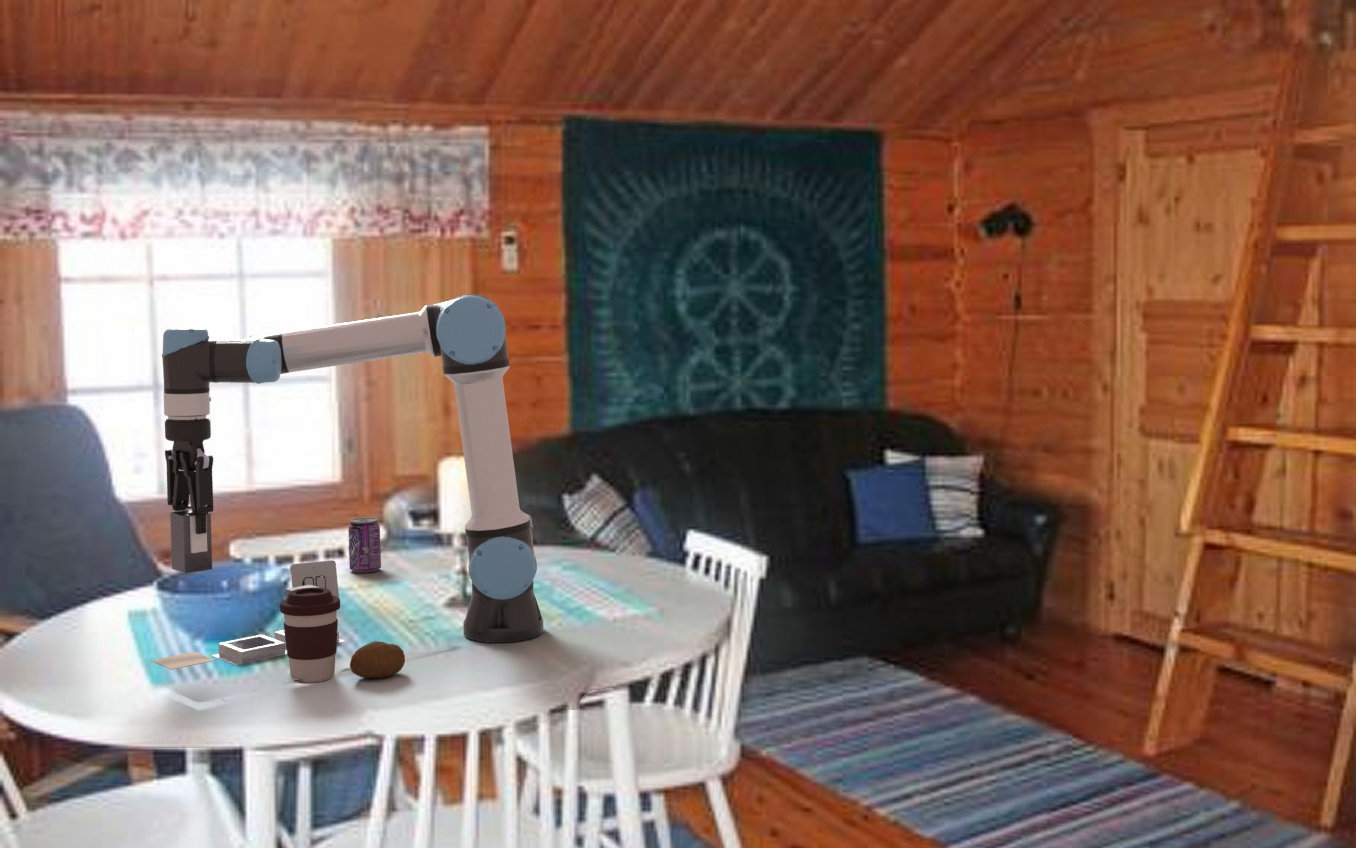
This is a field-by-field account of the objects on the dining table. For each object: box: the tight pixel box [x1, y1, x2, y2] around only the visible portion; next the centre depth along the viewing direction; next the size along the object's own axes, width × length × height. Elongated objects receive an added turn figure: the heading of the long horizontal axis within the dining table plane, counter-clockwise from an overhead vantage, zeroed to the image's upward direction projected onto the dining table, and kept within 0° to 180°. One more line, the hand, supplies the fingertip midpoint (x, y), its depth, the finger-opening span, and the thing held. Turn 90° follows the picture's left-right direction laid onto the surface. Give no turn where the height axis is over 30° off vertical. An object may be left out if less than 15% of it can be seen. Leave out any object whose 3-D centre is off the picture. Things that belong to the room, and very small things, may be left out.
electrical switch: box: [289, 559, 340, 598], centre depth 295 cm, size 9×5×9 cm, turn 116°
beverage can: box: [347, 516, 382, 574], centre depth 328 cm, size 7×7×12 cm
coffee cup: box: [279, 587, 341, 684], centre depth 242 cm, size 10×10×15 cm
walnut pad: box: [151, 651, 216, 670], centre depth 250 cm, size 8×8×1 cm
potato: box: [349, 640, 406, 679], centre depth 242 cm, size 7×10×6 cm
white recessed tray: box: [211, 629, 346, 666], centre depth 258 cm, size 9×22×3 cm, turn 135°
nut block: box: [169, 509, 213, 574], centre depth 249 cm, size 5×5×10 cm
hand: (191, 549), depth 249 cm, fingers closed on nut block, 5 cm apart
